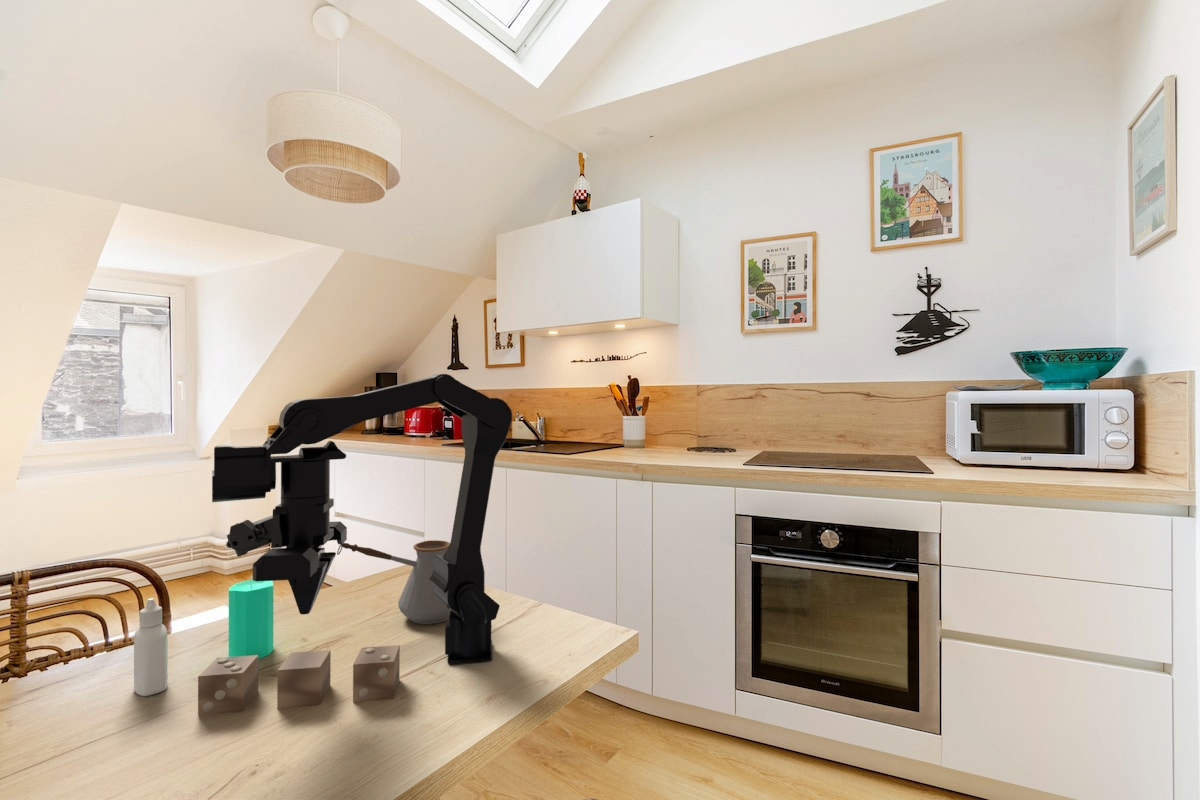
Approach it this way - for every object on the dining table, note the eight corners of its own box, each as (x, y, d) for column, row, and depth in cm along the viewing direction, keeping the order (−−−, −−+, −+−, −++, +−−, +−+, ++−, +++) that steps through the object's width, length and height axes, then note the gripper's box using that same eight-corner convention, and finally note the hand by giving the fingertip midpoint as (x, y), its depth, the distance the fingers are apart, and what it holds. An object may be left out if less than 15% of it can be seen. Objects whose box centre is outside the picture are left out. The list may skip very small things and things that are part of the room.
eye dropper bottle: (177, 675, 81) (177, 590, 81) (162, 695, 75) (162, 604, 75) (140, 680, 79) (140, 593, 79) (121, 701, 74) (121, 608, 74)
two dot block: (399, 680, 80) (399, 644, 80) (393, 700, 75) (393, 660, 75) (361, 683, 79) (361, 646, 79) (352, 703, 74) (352, 663, 74)
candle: (252, 664, 84) (252, 582, 84) (217, 659, 86) (218, 579, 85) (282, 646, 90) (282, 570, 90) (250, 642, 92) (250, 567, 91)
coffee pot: (454, 600, 111) (455, 523, 111) (472, 621, 101) (473, 536, 101) (333, 620, 101) (334, 535, 100) (339, 646, 91) (340, 551, 90)
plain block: (330, 686, 78) (330, 649, 78) (319, 705, 74) (320, 667, 74) (290, 689, 78) (290, 652, 77) (277, 709, 73) (277, 670, 73)
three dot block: (258, 692, 77) (258, 653, 77) (242, 713, 72) (242, 672, 72) (216, 695, 76) (217, 656, 76) (197, 717, 71) (197, 675, 71)
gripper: (265, 484, 83) (265, 592, 83) (202, 511, 65) (202, 649, 65) (347, 483, 85) (347, 588, 85) (309, 508, 67) (308, 641, 67)
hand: (305, 613), depth 75 cm, fingers closed
